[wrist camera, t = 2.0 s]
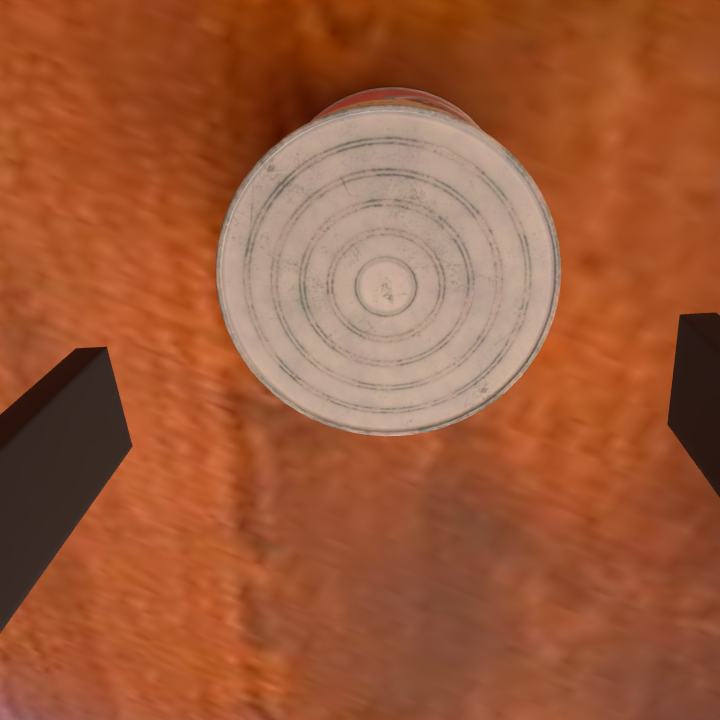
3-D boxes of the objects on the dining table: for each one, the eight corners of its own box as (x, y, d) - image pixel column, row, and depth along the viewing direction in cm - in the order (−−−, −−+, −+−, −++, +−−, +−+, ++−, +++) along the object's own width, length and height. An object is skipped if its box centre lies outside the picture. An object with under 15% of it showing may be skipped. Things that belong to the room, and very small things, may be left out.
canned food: (556, 178, 32) (636, 242, 21) (418, 357, 36) (426, 488, 25) (357, 34, 30) (332, 21, 19) (235, 241, 34) (157, 329, 23)
